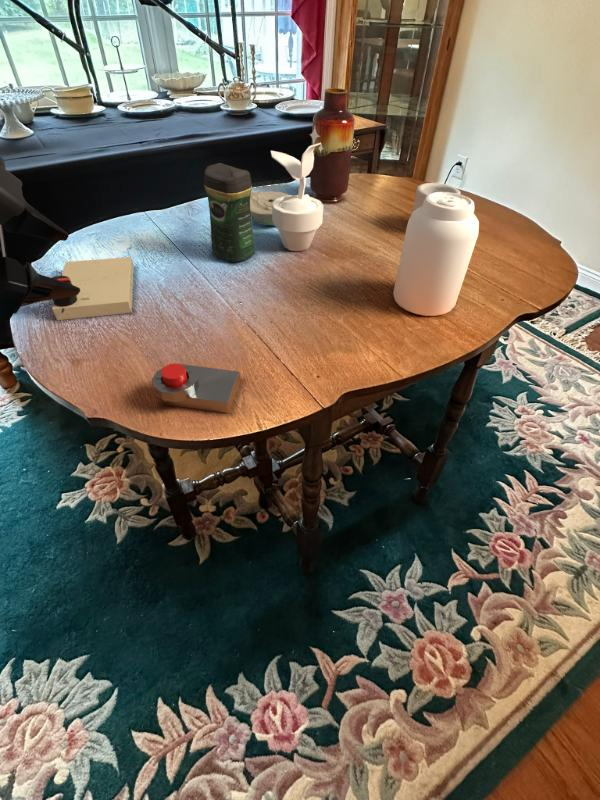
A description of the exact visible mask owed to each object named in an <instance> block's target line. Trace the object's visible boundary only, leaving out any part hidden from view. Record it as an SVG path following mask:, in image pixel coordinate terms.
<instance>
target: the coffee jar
mask: <svg viewBox="0 0 600 800" xmlns="http://www.w3.org/2000/svg"><path fill="white" fill-rule="evenodd" d="M203 178H204V179H203V181H204V185H203V186H204V191H205V193H206V197H207V201H208V211H209V223H210V242H211V243H210V244H211V251H212V254H214V255H215V256H216V257H219V258H221V259H223V260H225V261H228V262H231V263H238V262H244V261H247V260H249V259H251V258H252V257H253V256H254V255H255V253H256V251H255V238H254V231H253V224H252V223H253V221H252V216H251V210H250V196H251V192H253V186H252V179H251V173H250V172H249V171H248V170H246V169H242V168H238V167H234V166H231V165H228V164H224V163H222V162H218V163H215V164H211V165H208V166H206V168H205V170H204V173H203Z"/></svg>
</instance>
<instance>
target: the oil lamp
mask: <svg viewBox="0 0 600 800" xmlns="http://www.w3.org/2000/svg"><path fill="white" fill-rule="evenodd" d="M284 196H291V194H289V193H285V192H281V191H252V192H251V196H250V210H251V218H252V219H254V221H255V222H257V223H258V224H261V225H263V226H274V224H273V221H272V203H273V202H274V201H275V200H276V199H277V198H280V197H284Z"/></svg>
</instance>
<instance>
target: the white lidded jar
mask: <svg viewBox="0 0 600 800" xmlns="http://www.w3.org/2000/svg"><path fill="white" fill-rule="evenodd" d="M412 211H413V210H412ZM479 227H480V220H479V219H478V217H477V216H476V215H475V202H474V200H473V199H471V198H470V197H468V196H467V195H463V194H457V193H452V192H435V193H431V194H429V195H427V196H426V198H425V199H424V202H423V205H422V206H421V207H419V208H418V209H416V210H415V211H413V213H412V212H411V215H410V217H409V219H408V222H407V225H406V229H405V233H404V234H405V235H404V239H403V244H402V249H401V254H400V259H399V263H398V268H397V272H396V278H395V283H394V288H393V291H392V292H393V293H392V294H393V298H394V301H395V303H396V304H397V305H398V306H399V307H400V308H402V309H404V310H405V311H407V312H410V313H413V314H414V315H415V314H416V315H421V316H425V317H429V316H430V317H436V316H442V315H443V316H444V315H445V314H447V313H449V312H451V311H452V310H453V308H454V307H455V306H456V305H457V301H458V299H459V295H460V292H461V288H462V286H463V282H464V280H465V277H466V274H467V271H468V268H469V266H470V265H469V264H470V262H471V258H472V255H473V252H474V249H475V246H476V243H477V240H478V237H479V231H480V230H479V229H480V228H479Z"/></svg>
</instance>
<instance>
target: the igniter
mask: <svg viewBox="0 0 600 800" xmlns="http://www.w3.org/2000/svg"><path fill="white" fill-rule="evenodd" d="M180 364H181V365H183V366H184V367H185V369H186V374H187V381H186V383H185V384H183V385H182V386H178V387H174V388H173V387H168V386H166V385H165V384H164V382H163V378H162V375H161V371H162V369H163V368H164V367H162V368H160V369H158V370H157V371H155V373H154V375H153V377H152V379H151V381H152V386H153V390H154V393H155V396H156V397H158V398H159V399H161V400H162V404H163V405H166V406H167V405H168V406H173V407H181V408H190V409H195V410H196V409H197V410H203V411H210V412H217V413H225V414H229V413H230V411H231V408H232V406H233V403H234V401H235V397H236V395H237V393H238V390H239V388H240V385H241V372H240V371H237V370H230V369H224V368H223V369H222V368H215V367H207V366H199V365H192V364H191V365H190V364H184V363H180Z"/></svg>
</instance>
